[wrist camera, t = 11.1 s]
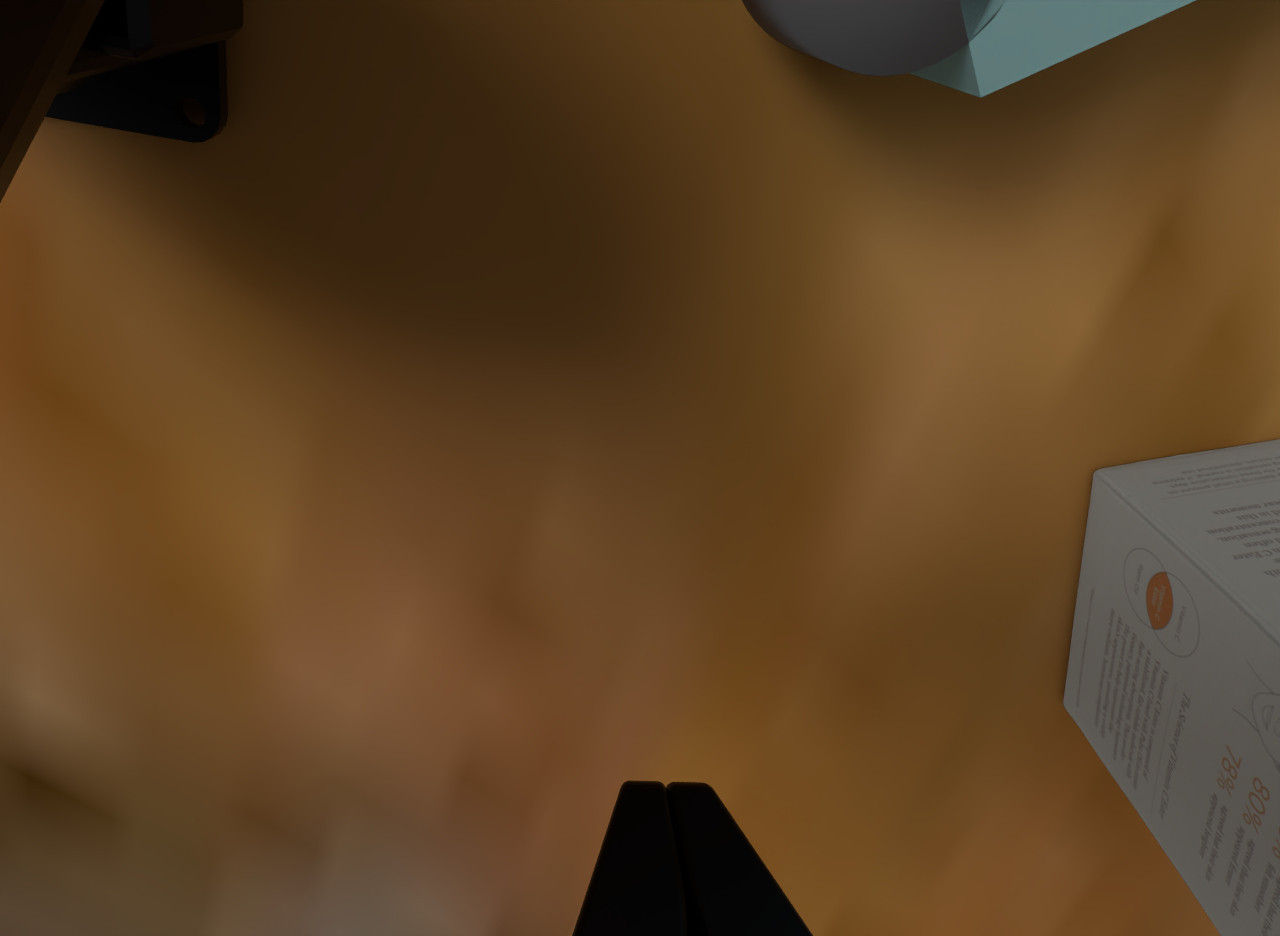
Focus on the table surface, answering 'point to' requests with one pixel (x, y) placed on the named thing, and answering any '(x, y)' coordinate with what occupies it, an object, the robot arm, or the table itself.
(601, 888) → the robot arm
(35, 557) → the table surface
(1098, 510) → the small box
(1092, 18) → the swing arm
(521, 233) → the table surface
